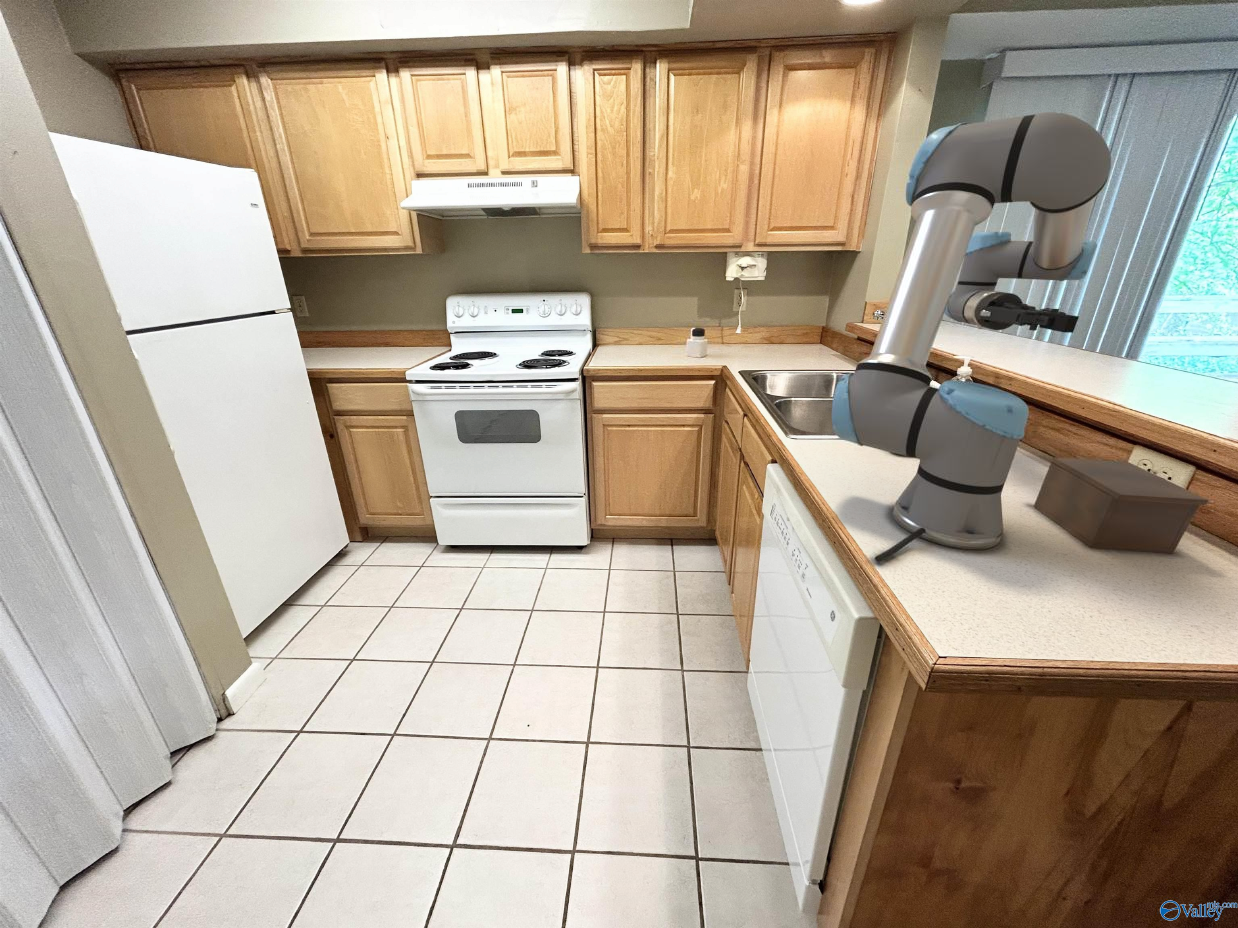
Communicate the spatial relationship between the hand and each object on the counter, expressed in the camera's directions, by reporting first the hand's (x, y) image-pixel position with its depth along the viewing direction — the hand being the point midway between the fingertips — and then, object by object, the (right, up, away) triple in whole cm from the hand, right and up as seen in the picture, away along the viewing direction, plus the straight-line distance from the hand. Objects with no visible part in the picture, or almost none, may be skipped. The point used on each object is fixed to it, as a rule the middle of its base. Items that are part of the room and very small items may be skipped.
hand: (1071, 324), depth 83 cm
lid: (+3, -27, -6) cm, 27 cm away
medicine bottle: (-43, +24, +133) cm, 142 cm away
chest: (+3, -35, -2) cm, 35 cm away
